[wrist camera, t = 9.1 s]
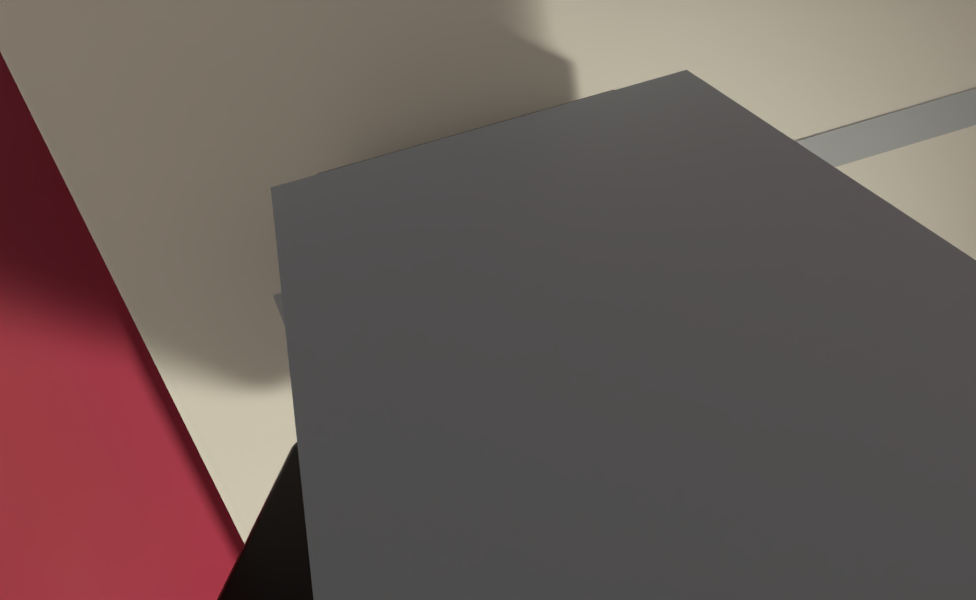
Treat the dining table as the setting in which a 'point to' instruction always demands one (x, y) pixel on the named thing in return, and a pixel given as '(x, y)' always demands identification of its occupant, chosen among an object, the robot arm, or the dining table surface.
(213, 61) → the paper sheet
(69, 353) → the dining table surface
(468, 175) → the marker block
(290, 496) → the robot arm
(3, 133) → the dining table surface
